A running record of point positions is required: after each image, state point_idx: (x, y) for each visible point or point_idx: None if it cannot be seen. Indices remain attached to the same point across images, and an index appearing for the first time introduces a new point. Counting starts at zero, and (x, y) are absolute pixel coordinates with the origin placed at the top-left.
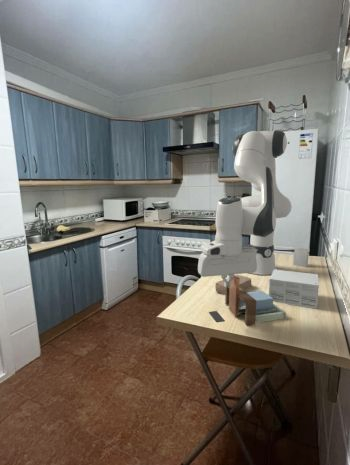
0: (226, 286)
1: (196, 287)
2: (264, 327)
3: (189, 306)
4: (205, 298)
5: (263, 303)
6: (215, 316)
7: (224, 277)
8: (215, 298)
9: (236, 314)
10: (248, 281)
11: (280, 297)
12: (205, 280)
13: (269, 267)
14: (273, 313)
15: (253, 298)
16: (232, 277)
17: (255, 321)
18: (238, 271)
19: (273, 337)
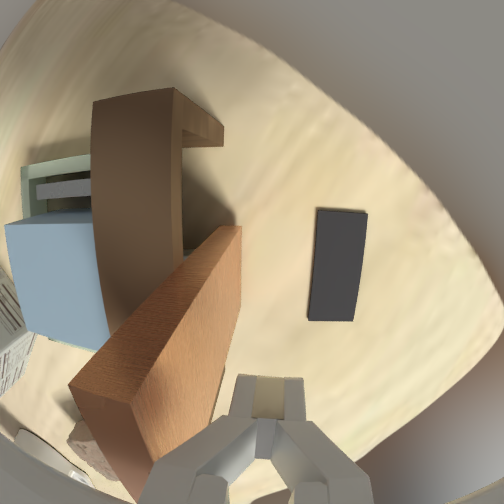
0: (295, 378)
1: (278, 484)
2: None
3: (396, 385)
4: None
5: (56, 218)
6: (345, 267)
7: (349, 485)
8: None
9: (232, 228)
10: (77, 437)
11: (2, 295)
12: None
13: (21, 445)
14: (57, 167)
15: (93, 143)
16: (183, 465)
17: None
18: (32, 502)
19: (162, 26)
